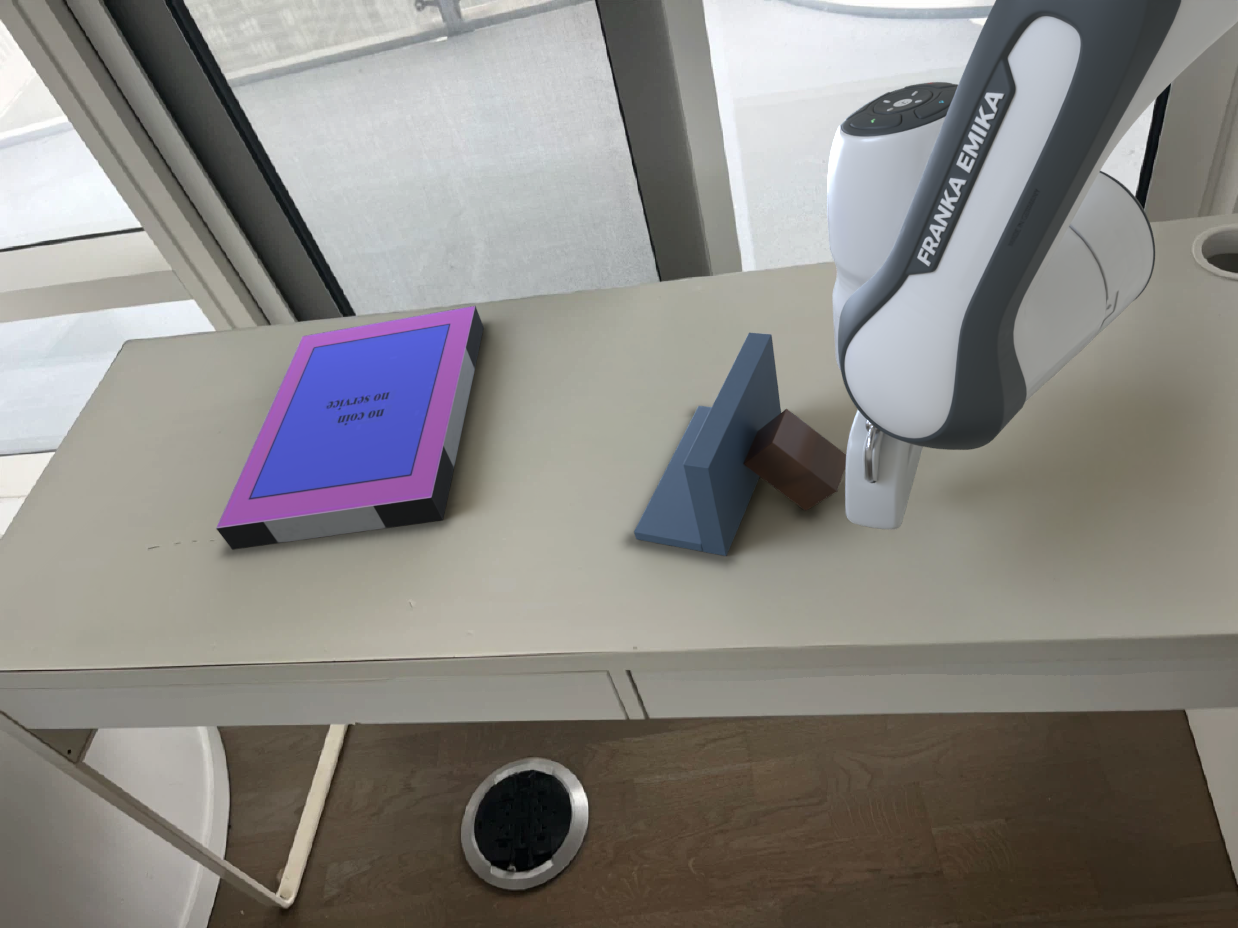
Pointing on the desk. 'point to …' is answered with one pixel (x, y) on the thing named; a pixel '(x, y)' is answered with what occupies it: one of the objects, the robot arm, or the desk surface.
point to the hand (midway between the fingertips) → (901, 477)
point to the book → (359, 432)
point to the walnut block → (796, 460)
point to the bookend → (716, 459)
